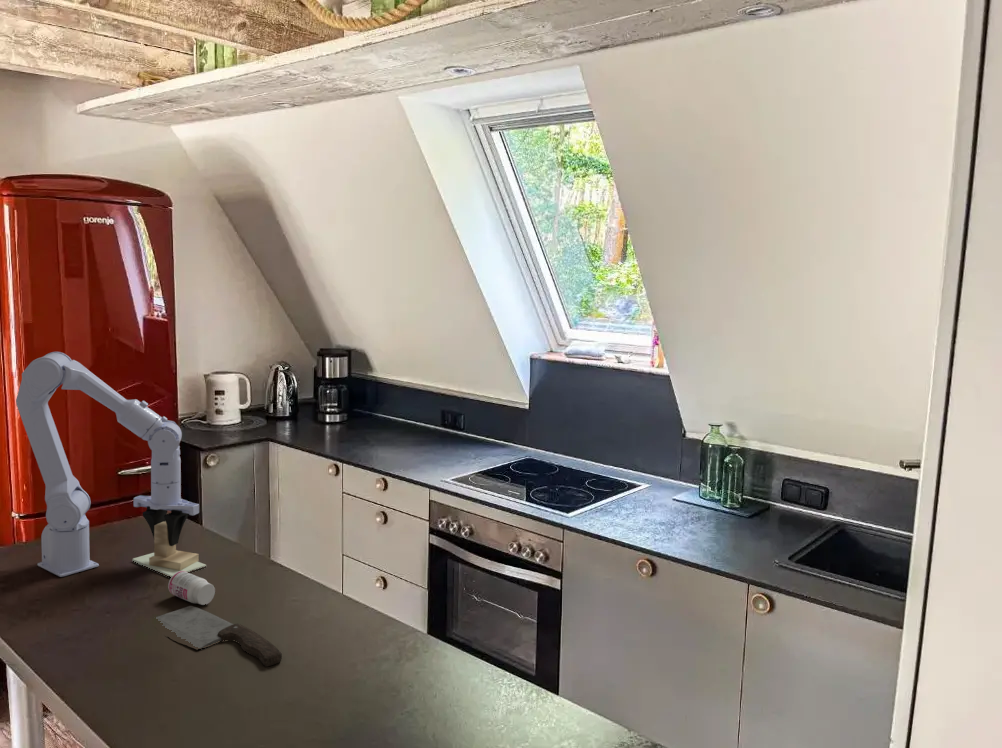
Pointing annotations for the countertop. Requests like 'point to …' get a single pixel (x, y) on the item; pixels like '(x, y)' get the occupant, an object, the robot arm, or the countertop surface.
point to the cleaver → (218, 633)
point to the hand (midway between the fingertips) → (166, 543)
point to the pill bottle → (191, 588)
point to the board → (167, 571)
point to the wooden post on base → (169, 551)
